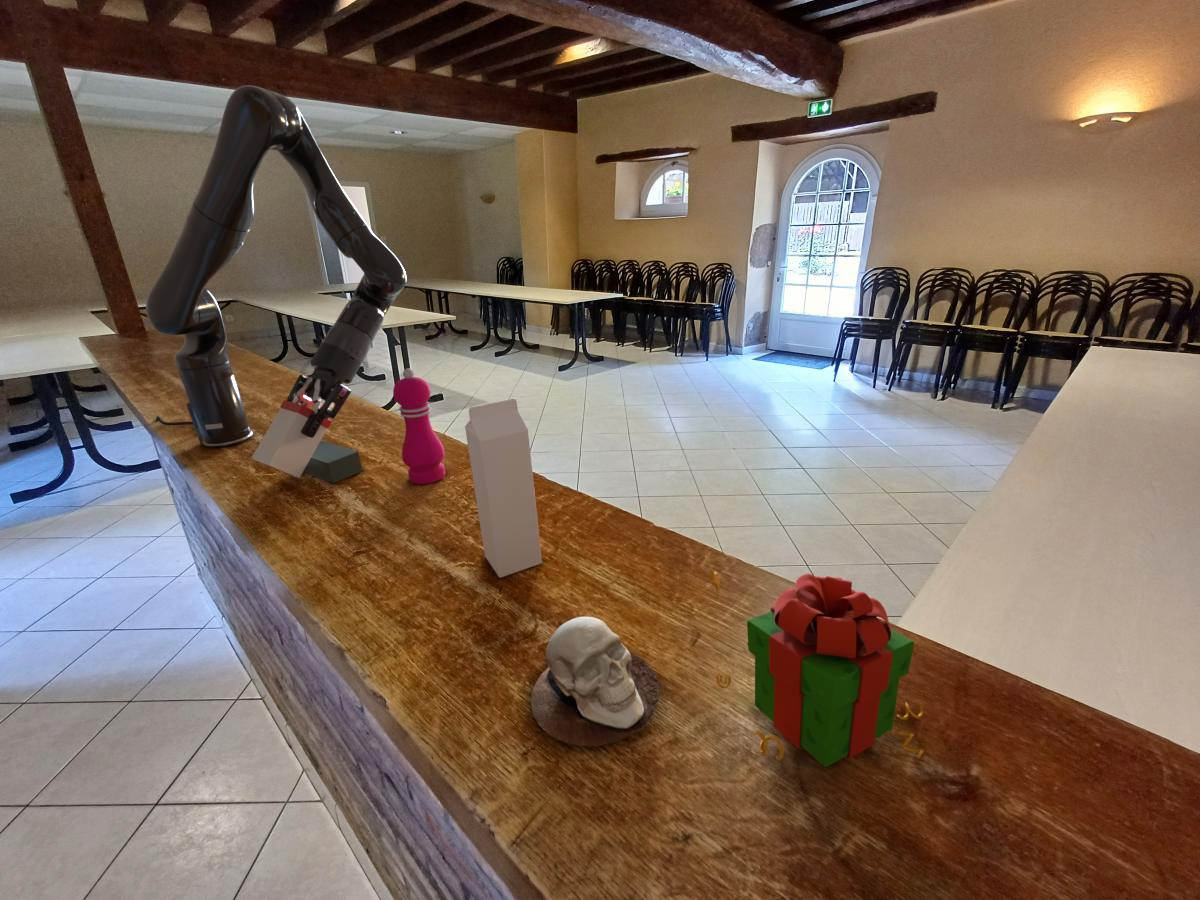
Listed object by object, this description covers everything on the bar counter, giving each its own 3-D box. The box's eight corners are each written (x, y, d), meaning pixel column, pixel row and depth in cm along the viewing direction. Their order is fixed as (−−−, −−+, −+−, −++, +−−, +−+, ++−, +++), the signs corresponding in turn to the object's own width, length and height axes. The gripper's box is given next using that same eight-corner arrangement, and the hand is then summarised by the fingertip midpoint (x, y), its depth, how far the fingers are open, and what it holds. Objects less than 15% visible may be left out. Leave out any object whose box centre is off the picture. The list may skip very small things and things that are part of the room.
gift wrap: (802, 644, 59) (809, 520, 56) (987, 768, 43) (1014, 604, 39) (644, 712, 51) (639, 571, 47) (801, 898, 35) (813, 705, 31)
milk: (542, 563, 73) (527, 404, 64) (498, 579, 70) (476, 415, 61) (524, 542, 77) (508, 392, 69) (483, 556, 75) (460, 401, 66)
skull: (695, 690, 50) (635, 662, 44) (629, 787, 49) (558, 774, 43) (617, 617, 60) (558, 585, 53) (560, 699, 59) (493, 676, 52)
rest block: (333, 483, 99) (327, 463, 97) (298, 469, 105) (292, 450, 104) (362, 471, 103) (358, 451, 102) (327, 458, 110) (322, 440, 108)
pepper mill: (453, 468, 102) (436, 362, 95) (439, 485, 96) (419, 373, 88) (416, 468, 103) (396, 363, 96) (400, 485, 97) (376, 374, 89)
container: (275, 487, 94) (254, 419, 89) (257, 479, 97) (236, 413, 92) (342, 461, 103) (326, 398, 98) (324, 454, 106) (307, 393, 101)
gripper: (304, 337, 103) (256, 416, 99) (348, 344, 95) (299, 429, 91) (337, 359, 109) (293, 434, 105) (381, 367, 101) (336, 448, 97)
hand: (296, 431), depth 98 cm, fingers closed on container, 6 cm apart
